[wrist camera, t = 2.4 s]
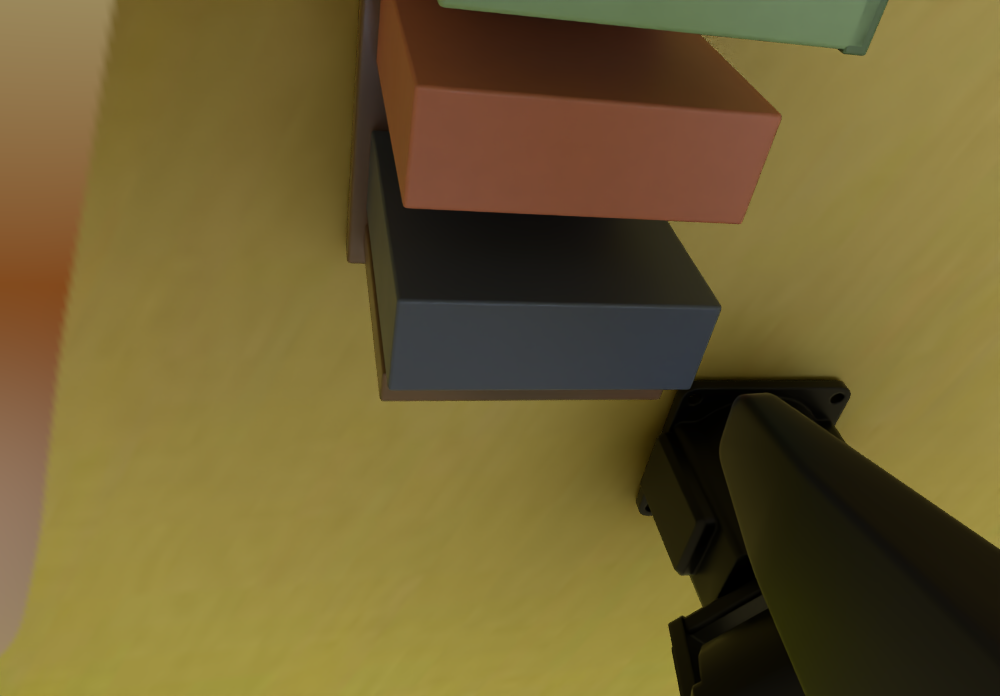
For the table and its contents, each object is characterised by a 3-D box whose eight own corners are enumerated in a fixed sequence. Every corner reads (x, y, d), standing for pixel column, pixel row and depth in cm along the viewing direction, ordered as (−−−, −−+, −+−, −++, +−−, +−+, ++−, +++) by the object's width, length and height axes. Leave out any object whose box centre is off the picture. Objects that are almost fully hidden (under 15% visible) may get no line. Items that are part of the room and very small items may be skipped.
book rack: (741, -300, 17) (933, -274, 12) (594, 256, 25) (670, 416, 20) (378, -377, 15) (419, -384, 10) (345, 248, 23) (359, 420, 18)
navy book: (621, 146, 22) (723, 307, 17) (601, 220, 23) (690, 391, 18) (371, 128, 20) (397, 300, 15) (366, 209, 22) (388, 391, 16)
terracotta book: (661, -6, 20) (785, 115, 15) (637, 86, 21) (742, 225, 16) (383, -38, 18) (414, 85, 13) (375, 63, 19) (402, 209, 14)
